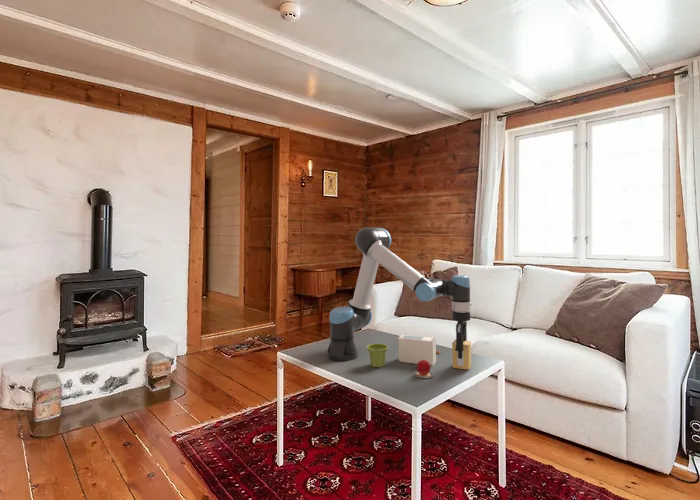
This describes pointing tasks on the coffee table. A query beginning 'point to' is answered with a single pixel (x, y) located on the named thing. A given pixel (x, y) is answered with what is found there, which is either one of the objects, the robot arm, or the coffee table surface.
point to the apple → (423, 369)
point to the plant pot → (377, 354)
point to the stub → (466, 355)
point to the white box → (417, 349)
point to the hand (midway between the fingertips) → (461, 362)
